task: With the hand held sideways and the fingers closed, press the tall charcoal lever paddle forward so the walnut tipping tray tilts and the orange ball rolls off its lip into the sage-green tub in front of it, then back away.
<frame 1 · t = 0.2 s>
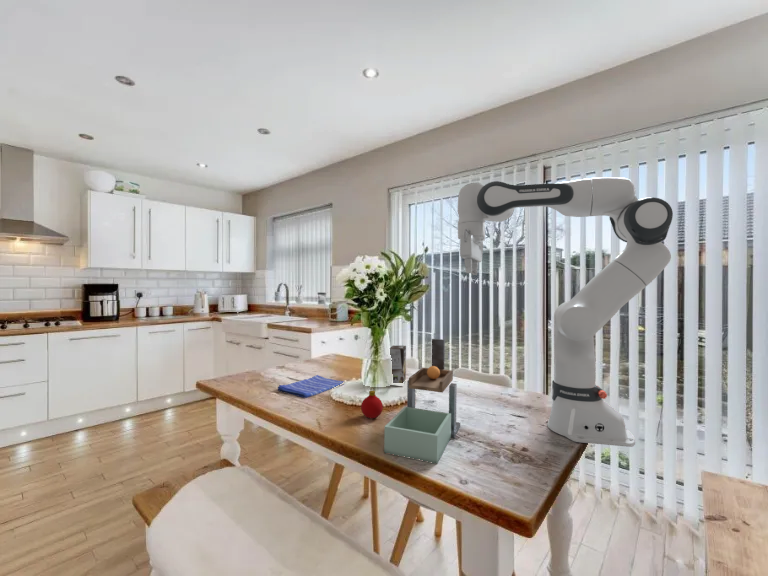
hand: (471, 273, 118), 47 cm above the table, tool pointing down, fingers open, 8 cm apart
lever tray: (432, 363, 108), point 20 cm above the table, hinge at 0.0°, touching ball
coffee box: (397, 383, 155), on the table
christmas ornament: (371, 418, 116), on the table
dish towel: (311, 389, 149), on the table
lever stand: (431, 427, 108), on the table
tub: (419, 445, 97), on the table
ball: (433, 372, 110), point 16 cm above the table, touching lever tray
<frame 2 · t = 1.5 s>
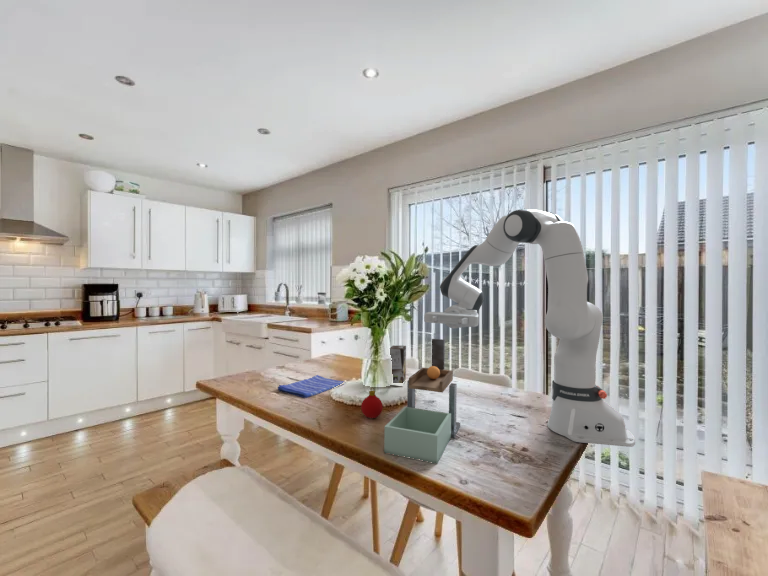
hand: (447, 321, 127), 31 cm above the table, tool horizontal, fingers open, 8 cm apart
nothing on the table moved.
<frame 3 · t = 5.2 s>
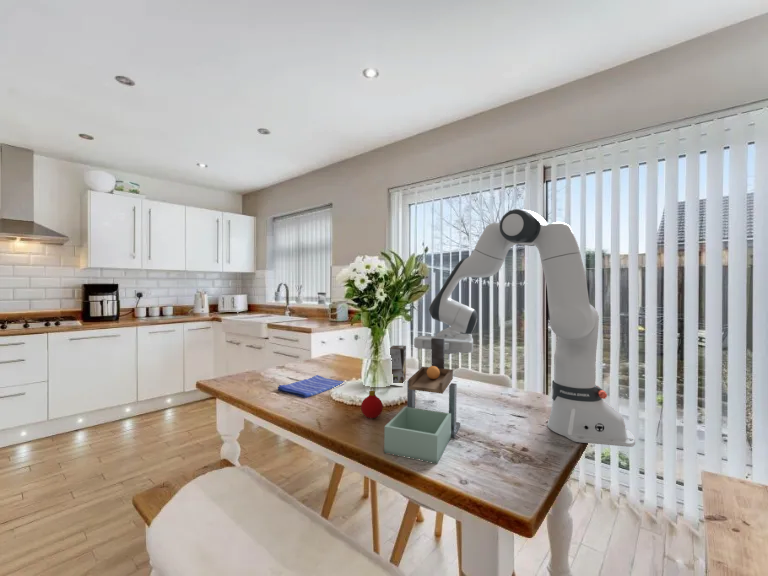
hand: (438, 347, 115), 23 cm above the table, tool horizontal, fingers closed, pressing on lever tray
lever tray: (432, 363, 108), point 20 cm above the table, hinge at 2.7°, touching ball, gripper
ball: (433, 372, 110), point 17 cm above the table, tilted 8°, touching lever tray
everything else where it was.
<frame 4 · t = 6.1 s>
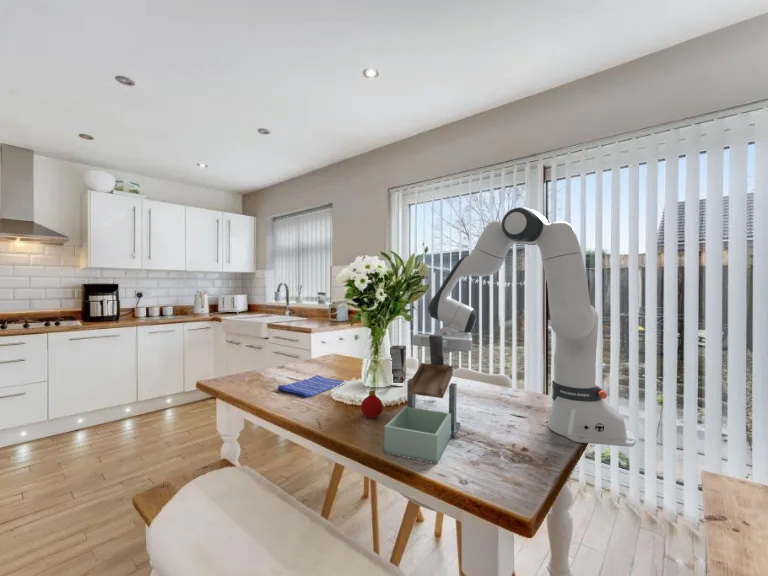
hand: (436, 344, 113), 25 cm above the table, tool horizontal, fingers closed, pressing on lever tray
lever tray: (431, 364, 107), point 20 cm above the table, hinge at 14.1°, touching gripper
ball: (413, 442, 92), point 3 cm above the table, tilted 140°, touching tub
everything else where it was.
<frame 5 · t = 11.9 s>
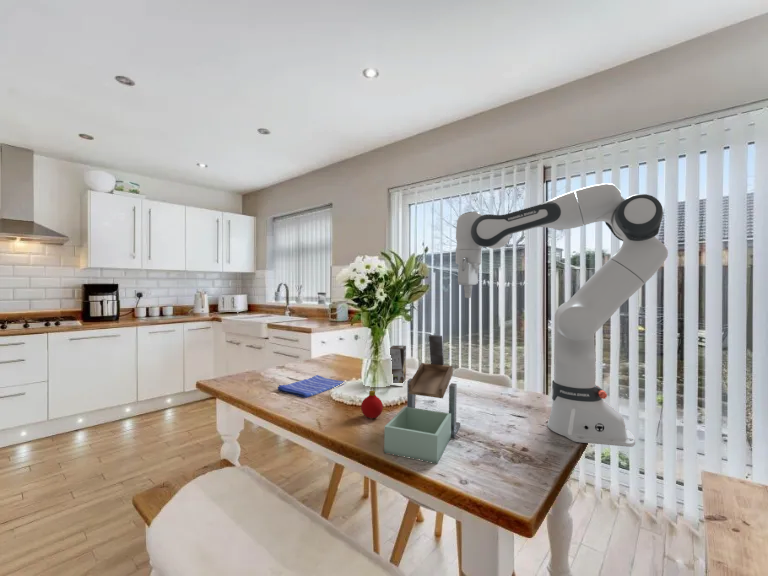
hand: (467, 297, 125), 39 cm above the table, tool pointing down, fingers closed
lever tray: (431, 364, 107), point 20 cm above the table, hinge at 14.8°
ball: (415, 440, 93), point 3 cm above the table, tilted 180°, touching tub
everything else where it was.
at the end: ball inside the target area on the tub (3.7 cm from its centre), point 2.8 cm above the tub's base; ball touching tub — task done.
